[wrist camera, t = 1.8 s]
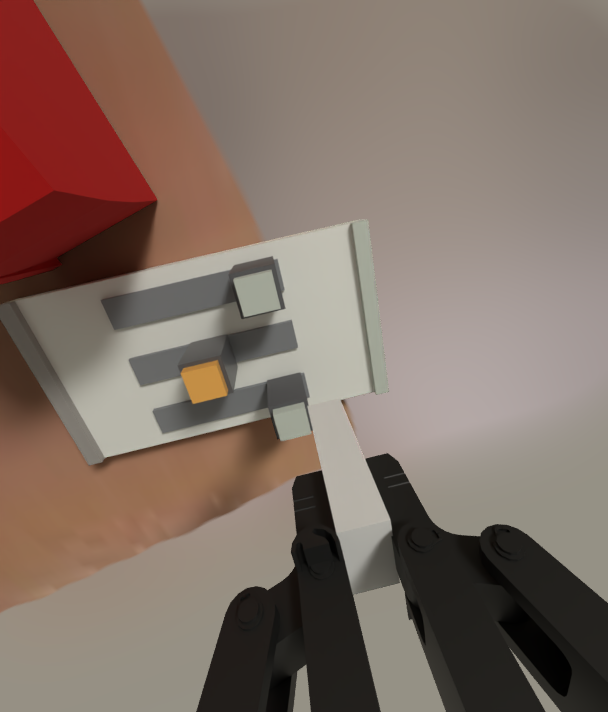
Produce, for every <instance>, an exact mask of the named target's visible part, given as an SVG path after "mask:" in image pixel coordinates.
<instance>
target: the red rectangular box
mask: <svg viewBox="0 0 608 712" xmlns="http://www.w3.org/2000/svg"><path fill="white" fill-rule="evenodd" d="M155 201H157V198H156V197H155V195H154V193H153V192H152V190H151V189H150V187H149V185H148V184H147V182H146V181H145V179H144V177H143V176H142V174H141V172H140V171H139V169H138V168H137V166H136V164H135V163H134V161H133V160H132V158H131V156H130V155H129V153H128V152H127V150H126V148H125V147H124V145H123V144H122V142H121V140H120V139H119V137H118V136H117V134H116V132H115V131H114V129H113V128H112V126H111V124H110V123H109V121H108V120H107V118H106V116H105V115H104V113H103V112H102V110H101V108H100V107H99V105H98V104H97V102H96V100H95V99H94V97H93V96H92V94H91V92H90V91H89V89H88V88H87V86H86V84H85V83H84V81H83V80H82V78H81V76H80V75H79V73H78V72H77V70H76V68H75V67H74V65H73V64H72V62H71V60H70V59H69V57H68V56H67V54H66V52H65V51H64V49H63V48H62V46H61V44H60V43H59V41H58V39H57V38H56V36H55V35H54V33H53V31H52V30H51V28H50V27H49V25H48V23H47V22H46V20H45V19H44V17H43V15H42V14H41V12H40V11H39V9H38V7H37V6H36V4H35V3H34V1H33V0H0V284H4V283H8V282H12V281H16V280H20V279H23V278H26V277H30V276H33V275H37V274H40V273H44V272H48V271H51V270H53V269H55V268H57V267H59V266H60V265H62V264H61V263H60V261H59V260H58V259H57V257H59V256H61V255H62V254H64V253H66V252H68V251H69V250H71V249H73V248H75V247H76V246H78V245H80V244H82V243H83V242H85V241H87V240H89V239H90V238H92V237H94V236H95V235H97V234H99V233H101V232H102V231H104V230H106V229H108V228H109V227H111V226H113V225H115V224H116V223H118V222H120V221H122V220H123V219H125V218H127V217H129V216H130V215H132V214H134V213H136V212H137V211H139V210H141V209H143V208H144V207H146V206H148V205H150V204H151V203H153V202H155Z"/></svg>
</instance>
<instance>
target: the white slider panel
mask: <svg viewBox="0 0 608 712" xmlns="http://www.w3.org/2000/svg"><path fill="white" fill-rule="evenodd" d="M0 320H1V321H2V323H3V325H4V326H5V328H6V330H7V331H8V333H9V335H10V336H11V338H12V340H13V341H14V343H15V344H16V346H17V348H18V349H19V351H20V353H21V354H22V356H23V358H24V359H25V361H26V363H27V364H28V366H29V368H30V369H31V371H32V372H33V374H34V376H35V377H36V379H37V381H38V382H39V384H40V386H41V387H42V389H43V391H44V392H45V394H46V395H47V397H48V399H49V400H50V402H51V404H52V405H53V407H54V409H55V410H56V412H57V414H58V415H59V417H60V419H61V420H62V422H63V423H64V425H65V427H66V428H67V430H68V432H69V433H70V435H71V437H72V438H73V440H74V442H75V443H76V445H77V446H78V448H79V450H80V451H81V453H82V455H83V456H84V458H85V460H86V461H87V463H88V465H93V464H97V463H101V462H103V460H104V459H105V458H106V457H110V456H114V455H118V454H122V453H127V452H131V451H135V450H139V449H143V448H147V447H151V446H155V445H159V444H163V443H167V442H171V441H176V440H180V439H184V438H188V437H192V436H196V435H200V434H204V433H208V432H212V431H216V430H220V429H225V428H229V427H233V426H237V425H241V424H245V423H249V422H253V421H257V420H261V419H265V418H269V417H271V419H272V423H273V426H274V429H275V433H276V436H277V439H280V441H285V440H289V439H293V438H297V437H301V436H305V435H309V434H311V431H312V430H313V429H312V424H311V420H310V416H309V411H308V407H307V406H310V405H314V404H318V403H322V402H326V401H330V400H334V399H338V398H340V400H343V399H347V398H351V397H355V396H359V395H363V394H367V393H372V392H375V394H376V395H378V394H382V393H386V392H389V388H388V380H387V372H386V364H385V356H384V347H383V339H382V331H381V323H380V315H379V307H378V298H377V290H376V282H375V274H374V265H373V257H372V248H371V240H370V232H369V224H368V220H355V221H351V222H347V223H342V224H338V225H333V226H329V227H326V228H321V229H316V230H312V231H308V232H303V233H300V234H295V235H290V236H286V237H282V238H277V239H273V240H269V241H264V242H260V243H256V244H251V245H247V246H243V247H238V248H234V249H230V250H225V251H221V252H217V253H213V254H208V255H204V256H200V257H195V258H191V259H187V260H182V261H178V262H174V263H169V264H165V265H161V266H156V267H152V268H148V269H143V270H139V271H135V272H130V273H126V274H122V275H117V276H113V277H109V278H105V279H100V280H96V281H92V282H87V283H83V284H79V285H74V286H70V287H66V288H61V289H57V290H53V291H48V292H44V293H40V294H35V295H31V296H27V297H22V298H18V299H15V300H12V301H9V302H6V303H3V304H0ZM225 334H227V335H228V338H229V341H230V344H231V347H232V350H233V353H234V356H235V359H236V362H237V366H238V369H237V375H236V381H235V387H234V393H231V394H227V396H224V397H220V398H216V399H212V400H207V401H203V402H199V403H195V404H193V403H192V401H191V398H190V396H189V393H188V391H187V388H186V386H185V383H184V381H183V378H182V376H181V373H180V371H179V368H178V366H177V365H178V363H179V362H180V360H181V358H182V357H183V355H184V353H185V351H186V350H187V348H188V346H189V344H190V343H191V342H195V341H199V340H204V339H208V338H212V337H216V336H220V335H225Z"/></svg>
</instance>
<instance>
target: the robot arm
mask: <svg viewBox="0 0 608 712" xmlns="http://www.w3.org/2000/svg"><path fill="white" fill-rule="evenodd" d="M307 407H308V411H309V416H310V420H311V424H312V429H313V433H314V437H315V442H316V446H317V451H318V455H319V459H320V464H321V468H322V470H321V471H317V472H313V473H309V474H305V475H301V476H297V477H296V479H295V482H294V485H293V487H292V493H293V501H294V511H295V522H296V531H297V535H296V537H295V539H294V541H293V543H292V548H291V554H292V557H293V560H294V563H295V567H294V569H293V571H292V572H291V573H290V574H289V576H288V577H286V578H285V579H284V580H283V581H281V582H280V583H278V584H277V585H275V586H274V587H272V588H271V589H269V590H266V589H265V588H262V587H257V586H255V587H250V588H247V589H245V590H243V591H242V592H241V593H239V594H238V595H237V596H236V597H235V598H234V599H233V600H232V602H231V603H230V605H229V607H228V609H227V612H226V614H225V617H224V621H223V624H222V628H221V631H220V634H219V638H218V641H217V644H216V648H215V651H214V654H213V658H212V661H211V664H210V668H209V671H208V675H207V678H206V681H205V684H204V688H203V691H202V695H201V698H200V701H199V705H198V708H197V711H196V712H293V706H294V697H295V688H296V679H297V671H298V670H299V669H300V668H302V667H303V666H305V665H307V675H308V685H309V696H310V705H311V712H381V711H380V707H379V703H378V698H377V695H376V690H375V686H374V682H373V678H372V673H371V669H370V665H369V661H368V656H367V652H366V648H365V644H364V640H363V636H362V631H361V627H360V623H359V619H358V614H357V610H356V606H355V602H354V598H353V595H354V594H358V593H362V592H366V591H369V590H374V589H377V588H382V587H386V586H390V585H394V584H397V583H400V582H399V578H400V580H401V583H402V586H403V588H404V591H405V598H406V605H407V612H408V617H409V620H410V619H412V620H413V622H414V625H415V628H416V631H417V634H418V636H419V639H420V641H421V644H422V647H423V650H424V653H425V655H426V658H427V661H428V664H429V666H430V669H431V671H432V674H433V677H434V680H435V683H436V685H437V688H438V691H439V694H440V696H441V699H442V702H443V705H444V707H445V710H446V712H545V710H544V708H543V707H542V705H541V703H540V701H539V699H538V698H537V696H536V695H535V693H534V691H533V689H532V687H531V686H530V684H529V682H528V680H527V678H526V677H525V675H524V673H523V671H522V670H521V668H520V666H519V664H518V662H517V661H516V659H515V657H514V656H513V654H512V652H511V650H512V651H513V653H514V654H515V655H516V656H517V658H518V659H519V660H520V661H521V663H522V664H523V665H524V666H525V667H526V669H527V670H528V671H529V672H530V674H531V675H532V676H533V677H534V679H535V680H536V681H537V682H538V684H539V685H540V686H541V687H542V688H543V690H544V691H545V692H546V693H547V695H548V696H549V697H550V698H551V700H552V701H553V702H554V703H555V705H556V706H557V707H558V708H559V710H560V711H561V712H608V603H607V602H606V601H604V600H603V599H602V598H601V597H600V596H599V595H598V594H596V593H595V592H594V591H593V590H592V589H590V588H589V587H588V586H587V585H586V584H585V583H583V582H582V581H581V580H580V579H579V578H578V577H576V576H575V575H574V574H573V573H572V572H570V571H569V570H568V569H567V568H566V567H565V566H563V565H562V564H561V563H560V562H559V561H558V560H556V559H555V558H554V557H553V556H552V555H551V554H549V553H548V552H547V551H546V550H545V549H543V548H542V547H541V546H540V545H539V544H538V543H536V542H535V541H534V540H533V539H532V538H530V537H529V536H528V535H527V534H525V533H524V532H522V531H521V530H519V529H517V528H514V527H511V526H508V525H499V524H496V525H492V526H489V527H487V528H486V529H485V530H483V531H482V533H481V536H464V535H456V534H452V533H449V532H446V531H444V530H442V529H441V528H439V527H438V526H436V525H435V524H434V523H433V522H432V521H431V519H430V518H429V516H428V515H427V513H426V511H425V509H424V507H423V506H422V504H421V502H420V500H419V499H418V496H417V495H416V493H415V491H414V489H413V487H412V486H411V484H410V483H409V480H408V478H407V477H406V475H405V474H404V471H403V469H402V467H401V466H400V464H399V462H398V461H397V460H395V458H393V457H392V456H391V455H389V454H388V453H387V454H383V455H379V456H375V457H370V458H367V459H365V458H364V455H363V453H362V450H361V448H360V446H359V443H358V441H357V439H356V436H355V434H354V431H353V429H352V427H351V424H350V422H349V419H348V417H347V415H346V412H345V410H344V407H343V405H342V403H341V400H340V398H338V399H334V400H330V401H326V402H322V403H318V404H314V405H310V406H307ZM508 646H509V647H508ZM510 649H511V650H510Z"/></svg>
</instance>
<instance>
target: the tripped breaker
mask: <svg viewBox="0 0 608 712" xmlns="http://www.w3.org/2000/svg"><path fill="white" fill-rule="evenodd" d="M177 366H178V368H179V371H180V373H181V376H182V378H183V381H184V383H185V386H186V388H187V391H188V393H189V396H190V398H191V401H192V403H193V404H195V403H199V402H203V401H207V400H212V399H216V398H220V397H224V396H227V394H231V393H234V387H235V381H236V375H237V369H238V366H237V362H236V359H235V356H234V353H233V350H232V347H231V344H230V341H229V338H228V335H227V334H225V335H220V336H216V337H212V338H208V339H204V340H199V341H195V342H191V343H190V344H189V346H188V348H187V350H186V351H185V353H184V355H183V357H182V358H181V360H180V362H179V363H178V365H177Z"/></svg>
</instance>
